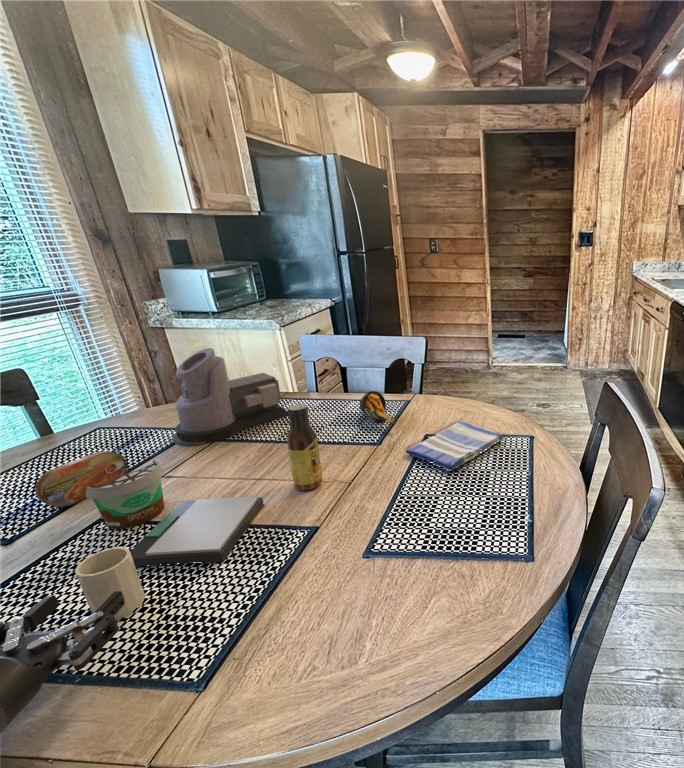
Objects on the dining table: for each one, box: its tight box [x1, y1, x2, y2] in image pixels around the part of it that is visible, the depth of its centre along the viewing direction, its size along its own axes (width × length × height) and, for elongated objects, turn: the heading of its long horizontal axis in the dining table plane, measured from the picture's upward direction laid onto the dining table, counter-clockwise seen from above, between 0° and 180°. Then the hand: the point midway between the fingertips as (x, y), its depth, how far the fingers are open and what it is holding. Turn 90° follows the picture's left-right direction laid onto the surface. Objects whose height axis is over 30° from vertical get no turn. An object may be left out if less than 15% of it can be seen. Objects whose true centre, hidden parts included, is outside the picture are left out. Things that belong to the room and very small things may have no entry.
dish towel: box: [405, 420, 505, 470], centre depth 118 cm, size 17×24×3 cm
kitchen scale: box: [129, 496, 264, 568], centre depth 81 cm, size 16×17×3 cm
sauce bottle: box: [286, 403, 323, 492], centre depth 95 cm, size 7×6×20 cm
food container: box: [86, 459, 165, 530], centre depth 84 cm, size 12×6×10 cm, turn 160°
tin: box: [34, 451, 128, 508], centre depth 91 cm, size 15×3×8 cm, turn 161°
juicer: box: [171, 347, 289, 447], centre depth 123 cm, size 30×16×24 cm, turn 145°
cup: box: [74, 546, 146, 621], centre depth 64 cm, size 6×6×9 cm
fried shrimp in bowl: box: [359, 390, 396, 424], centre depth 133 cm, size 9×11×18 cm
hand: (87, 597), depth 60 cm, fingers open, 8 cm apart
